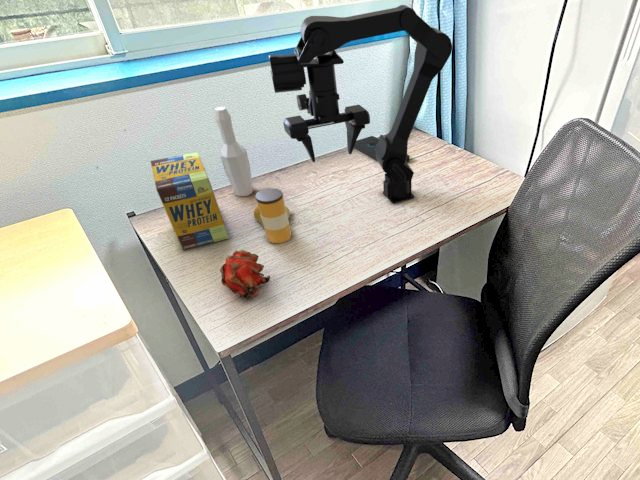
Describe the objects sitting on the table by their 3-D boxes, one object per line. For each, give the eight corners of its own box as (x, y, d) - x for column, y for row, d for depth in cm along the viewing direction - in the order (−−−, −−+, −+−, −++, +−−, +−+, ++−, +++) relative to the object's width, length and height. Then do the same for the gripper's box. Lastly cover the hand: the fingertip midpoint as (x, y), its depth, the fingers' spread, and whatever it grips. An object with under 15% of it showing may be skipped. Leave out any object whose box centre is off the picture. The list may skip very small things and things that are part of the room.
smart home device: (372, 135, 140) (411, 155, 128) (373, 140, 141) (411, 161, 130) (351, 141, 137) (388, 163, 125) (352, 146, 138) (388, 168, 126)
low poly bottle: (239, 185, 120) (215, 103, 105) (260, 187, 119) (238, 104, 104) (228, 196, 115) (201, 112, 100) (249, 198, 114) (226, 114, 99)
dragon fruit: (246, 274, 93) (261, 314, 87) (206, 268, 87) (220, 310, 81) (263, 245, 90) (280, 284, 83) (223, 235, 84) (238, 277, 77)
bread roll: (267, 232, 103) (263, 217, 100) (250, 217, 108) (246, 202, 105) (297, 219, 106) (294, 205, 104) (279, 205, 112) (276, 191, 109)
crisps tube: (292, 228, 104) (283, 187, 96) (291, 242, 99) (281, 199, 92) (267, 230, 103) (256, 189, 95) (265, 244, 99) (254, 202, 91)
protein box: (183, 251, 97) (155, 189, 87) (174, 219, 107) (149, 160, 97) (229, 238, 101) (209, 177, 90) (217, 208, 111) (197, 150, 100)
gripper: (349, 71, 100) (355, 138, 111) (270, 84, 94) (284, 153, 104) (368, 84, 93) (373, 154, 103) (284, 99, 87) (298, 171, 97)
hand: (332, 157), depth 102 cm, fingers open, 9 cm apart
